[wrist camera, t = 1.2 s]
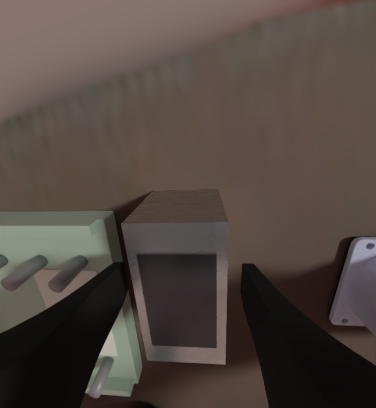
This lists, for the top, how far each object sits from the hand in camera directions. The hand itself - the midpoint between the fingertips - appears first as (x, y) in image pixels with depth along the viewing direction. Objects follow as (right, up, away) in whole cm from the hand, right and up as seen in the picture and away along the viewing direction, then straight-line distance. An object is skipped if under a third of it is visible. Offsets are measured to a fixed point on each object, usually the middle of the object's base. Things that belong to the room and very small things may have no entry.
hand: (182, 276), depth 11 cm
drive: (0, +1, +3) cm, 4 cm away
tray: (-12, -5, +6) cm, 14 cm away
